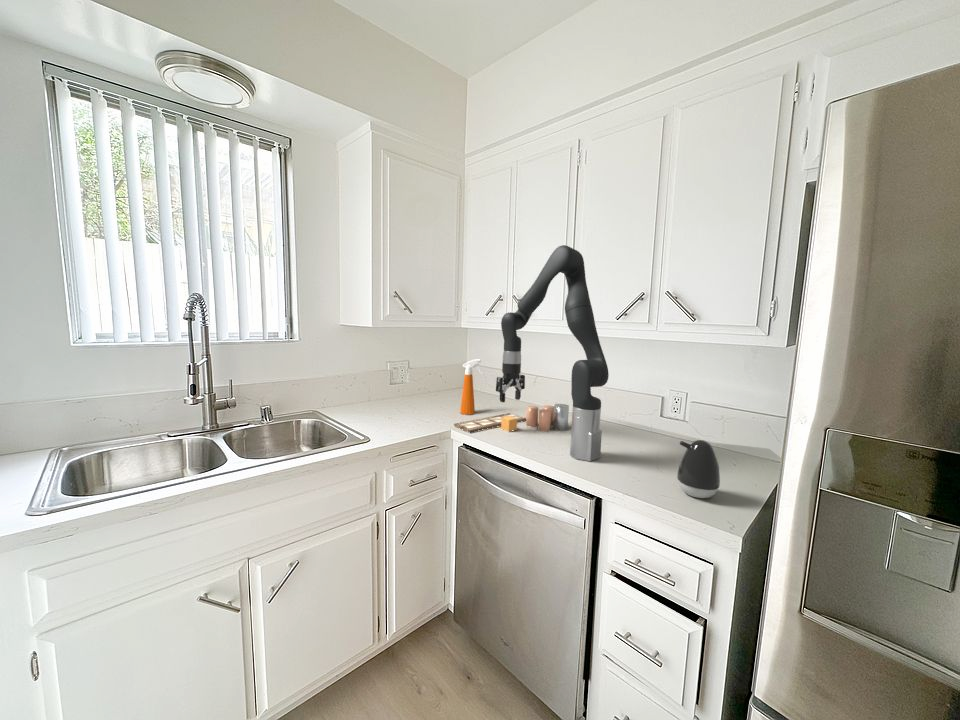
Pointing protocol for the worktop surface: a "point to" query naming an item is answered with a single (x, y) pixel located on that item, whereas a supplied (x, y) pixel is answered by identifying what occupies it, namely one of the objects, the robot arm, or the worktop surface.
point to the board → (485, 422)
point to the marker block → (508, 423)
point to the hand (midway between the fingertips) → (510, 400)
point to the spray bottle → (469, 388)
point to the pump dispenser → (699, 470)
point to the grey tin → (561, 416)
